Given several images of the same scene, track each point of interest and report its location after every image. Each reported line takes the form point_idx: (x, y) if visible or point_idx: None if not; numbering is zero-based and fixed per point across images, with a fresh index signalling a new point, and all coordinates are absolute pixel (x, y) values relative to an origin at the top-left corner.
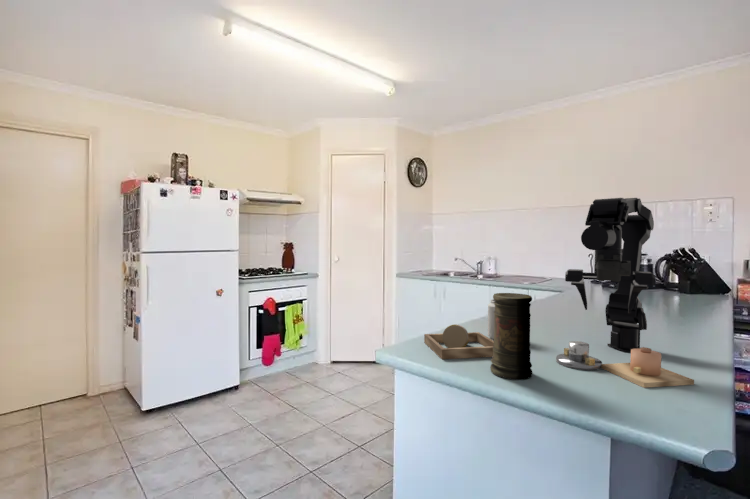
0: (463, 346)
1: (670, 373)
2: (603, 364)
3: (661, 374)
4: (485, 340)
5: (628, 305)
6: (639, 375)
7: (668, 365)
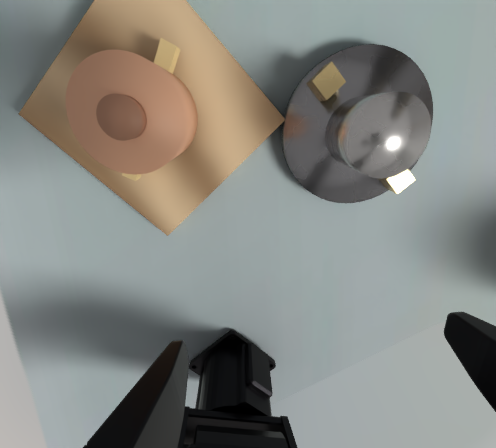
0: None
1: None
2: (279, 120)
3: None
4: None
5: (174, 405)
6: None
7: (123, 272)
